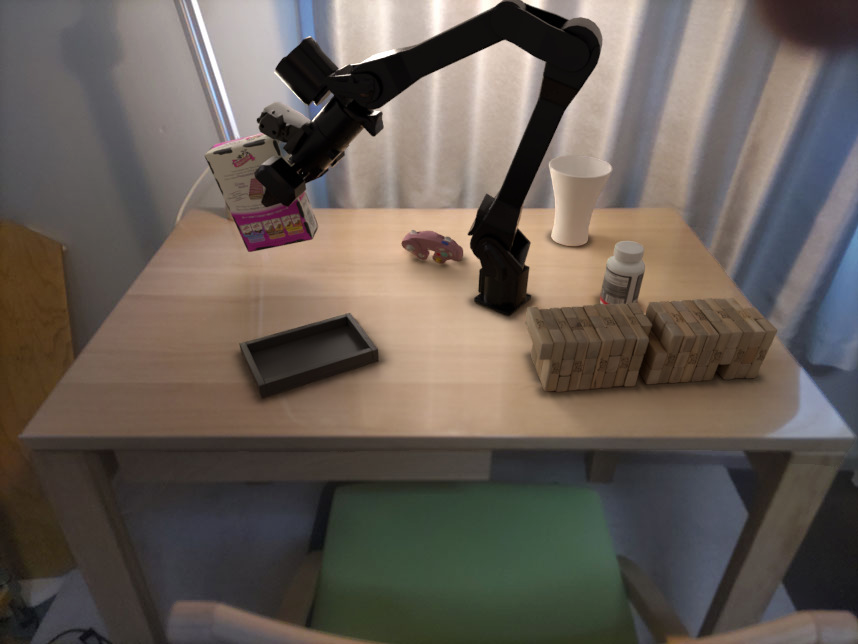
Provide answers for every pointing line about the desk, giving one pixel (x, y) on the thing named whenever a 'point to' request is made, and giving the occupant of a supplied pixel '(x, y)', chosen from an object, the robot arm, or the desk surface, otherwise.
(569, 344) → the block tower
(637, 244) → the pill bottle
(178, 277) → the desk surface
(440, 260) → the video game controller
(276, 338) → the tray
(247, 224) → the candy bar box
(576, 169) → the cup
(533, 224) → the desk surface
